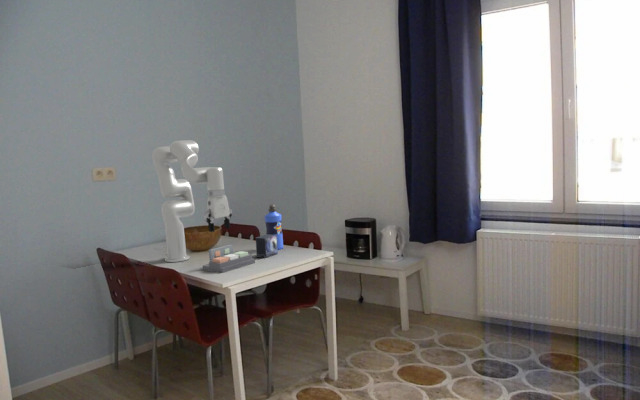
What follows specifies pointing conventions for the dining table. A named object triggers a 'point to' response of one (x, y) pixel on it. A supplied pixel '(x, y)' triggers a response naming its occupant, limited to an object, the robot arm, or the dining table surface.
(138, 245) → the dining table surface
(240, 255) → the sage key
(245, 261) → the keypad
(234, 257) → the grey key
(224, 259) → the terracotta key
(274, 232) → the water bottle
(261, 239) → the small box
